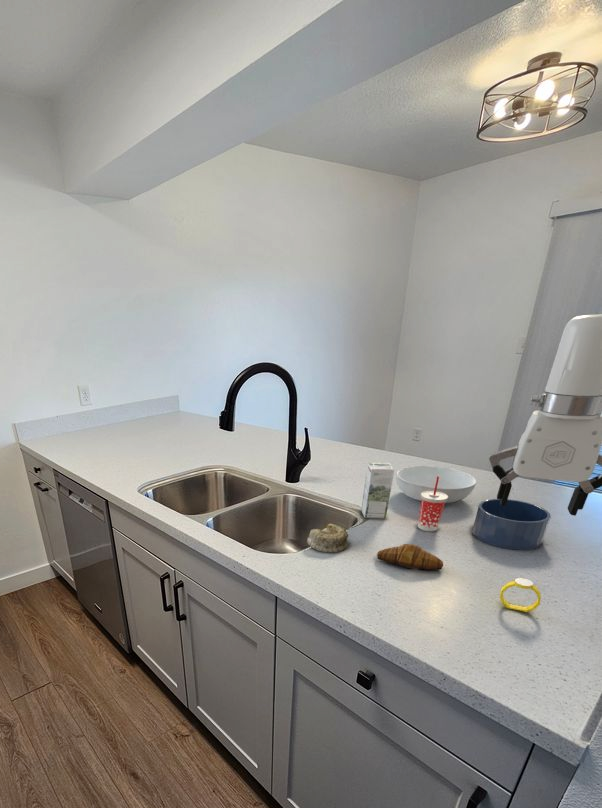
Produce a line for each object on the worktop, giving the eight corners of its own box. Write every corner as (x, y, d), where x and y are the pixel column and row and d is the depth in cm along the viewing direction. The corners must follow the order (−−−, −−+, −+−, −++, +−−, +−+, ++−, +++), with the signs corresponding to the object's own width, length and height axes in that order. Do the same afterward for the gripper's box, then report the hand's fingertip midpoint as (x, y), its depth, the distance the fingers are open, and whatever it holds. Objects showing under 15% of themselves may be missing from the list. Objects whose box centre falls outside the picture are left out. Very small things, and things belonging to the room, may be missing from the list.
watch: (535, 609, 81) (545, 582, 78) (535, 617, 79) (545, 590, 76) (497, 600, 84) (505, 574, 81) (496, 607, 82) (505, 581, 79)
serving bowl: (470, 516, 117) (476, 492, 114) (388, 505, 127) (391, 482, 124) (471, 490, 133) (477, 469, 130) (398, 482, 143) (401, 462, 140)
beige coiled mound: (356, 545, 107) (360, 526, 105) (329, 559, 103) (333, 539, 100) (324, 529, 114) (327, 511, 112) (298, 541, 109) (300, 523, 107)
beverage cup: (445, 531, 110) (457, 479, 104) (422, 533, 110) (433, 481, 104) (432, 521, 116) (443, 471, 110) (410, 523, 116) (419, 473, 109)
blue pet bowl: (539, 530, 108) (548, 504, 105) (542, 555, 98) (552, 527, 95) (474, 519, 116) (480, 495, 112) (470, 541, 105) (477, 515, 102)
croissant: (442, 562, 97) (446, 543, 95) (442, 577, 92) (447, 557, 90) (377, 552, 103) (380, 533, 101) (374, 566, 97) (377, 546, 95)
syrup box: (382, 511, 124) (389, 461, 117) (386, 519, 118) (394, 468, 112) (361, 510, 125) (367, 461, 118) (364, 519, 119) (371, 468, 113)
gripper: (505, 406, 67) (477, 507, 75) (655, 413, 60) (606, 525, 67) (502, 398, 73) (477, 493, 81) (639, 403, 65) (596, 508, 73)
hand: (535, 507), depth 74 cm, fingers open, 9 cm apart
